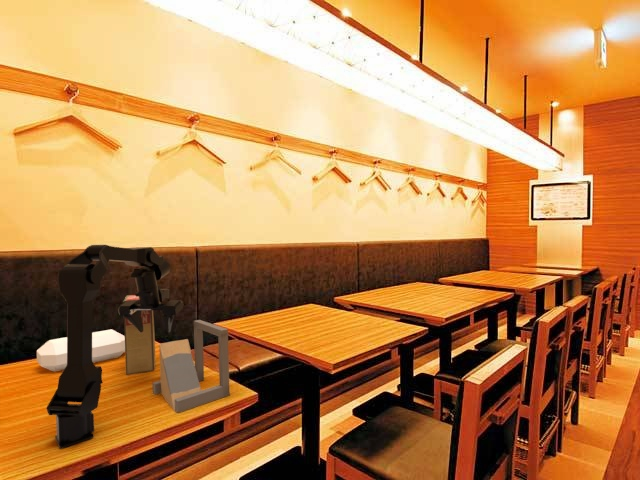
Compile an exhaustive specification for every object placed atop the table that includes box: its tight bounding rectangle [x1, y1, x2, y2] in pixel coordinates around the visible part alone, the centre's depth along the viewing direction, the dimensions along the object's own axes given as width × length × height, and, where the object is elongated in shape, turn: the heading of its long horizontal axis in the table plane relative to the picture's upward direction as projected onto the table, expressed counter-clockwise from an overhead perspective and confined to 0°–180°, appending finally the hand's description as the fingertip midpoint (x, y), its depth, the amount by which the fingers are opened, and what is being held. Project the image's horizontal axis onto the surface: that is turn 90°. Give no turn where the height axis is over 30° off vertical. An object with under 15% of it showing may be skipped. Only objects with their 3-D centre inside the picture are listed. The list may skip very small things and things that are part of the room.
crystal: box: [36, 328, 125, 372], centre depth 141 cm, size 14×10×28 cm
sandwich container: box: [158, 338, 202, 412], centre depth 107 cm, size 9×15×15 cm, turn 36°
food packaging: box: [122, 294, 156, 376], centre depth 133 cm, size 13×9×25 cm
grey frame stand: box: [152, 319, 230, 414], centre depth 109 cm, size 15×18×19 cm
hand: (155, 332), depth 121 cm, fingers open, 9 cm apart
